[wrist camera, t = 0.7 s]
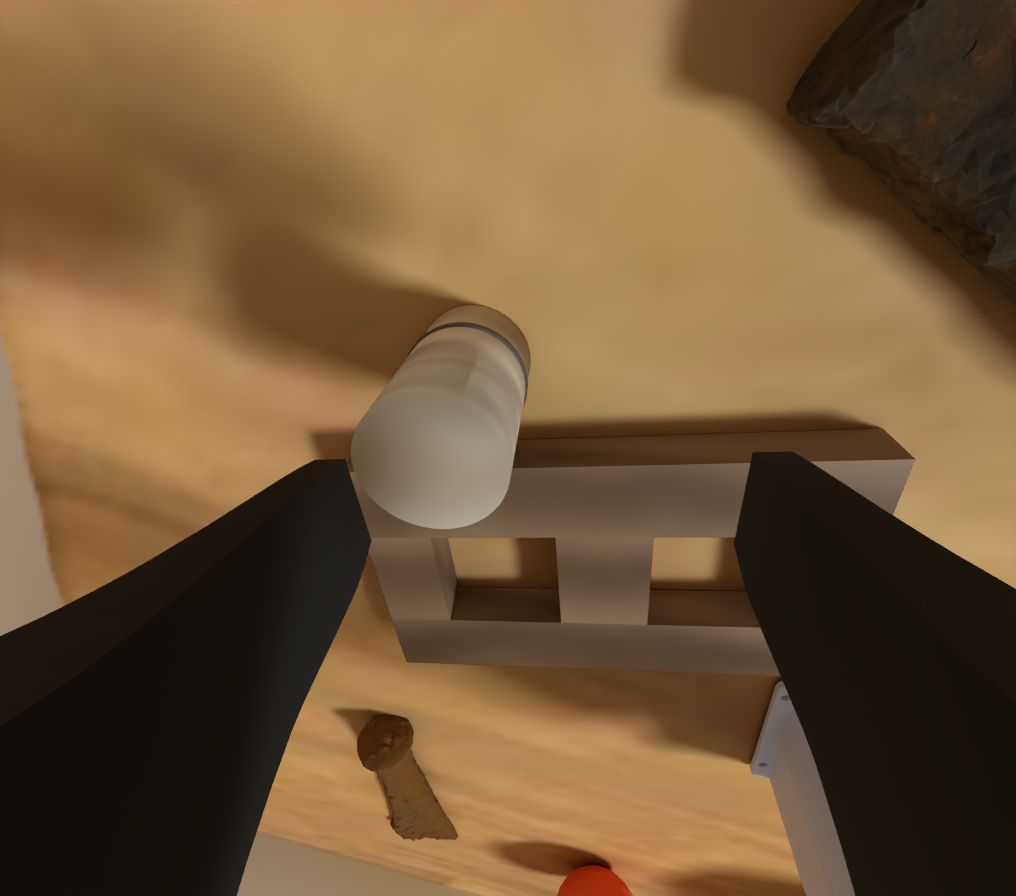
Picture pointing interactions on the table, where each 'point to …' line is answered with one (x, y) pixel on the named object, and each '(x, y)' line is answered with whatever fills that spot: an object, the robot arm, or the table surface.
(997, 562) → the table surface
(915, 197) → the hand tool
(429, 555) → the board
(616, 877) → the red tomato
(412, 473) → the peg
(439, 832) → the primitive tool
